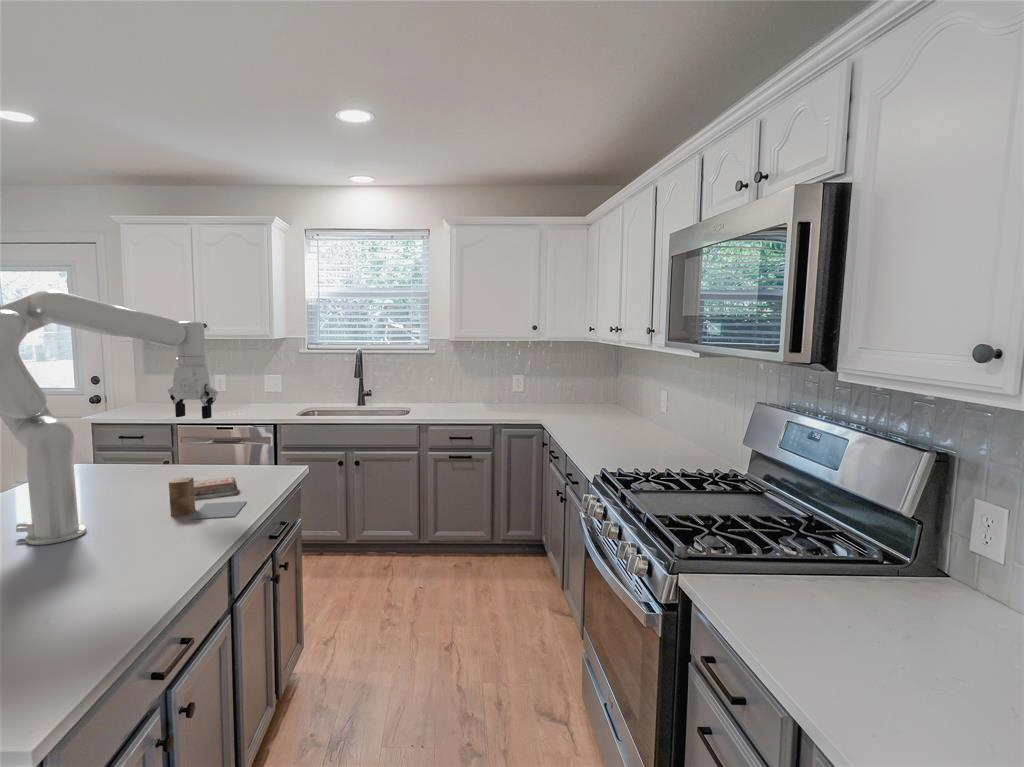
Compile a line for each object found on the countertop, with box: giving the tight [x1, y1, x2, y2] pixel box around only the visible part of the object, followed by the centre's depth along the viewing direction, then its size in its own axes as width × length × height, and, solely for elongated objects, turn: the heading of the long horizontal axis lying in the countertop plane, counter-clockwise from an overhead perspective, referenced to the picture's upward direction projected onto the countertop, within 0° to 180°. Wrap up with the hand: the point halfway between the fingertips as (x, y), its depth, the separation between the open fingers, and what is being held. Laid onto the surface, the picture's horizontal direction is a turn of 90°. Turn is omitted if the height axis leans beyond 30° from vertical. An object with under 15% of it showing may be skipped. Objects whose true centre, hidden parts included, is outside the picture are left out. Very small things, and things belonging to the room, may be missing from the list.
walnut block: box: [168, 476, 196, 517], centre depth 170 cm, size 5×5×10 cm
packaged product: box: [194, 476, 238, 500], centre depth 189 cm, size 18×5×10 cm
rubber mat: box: [189, 500, 248, 521], centre depth 172 cm, size 12×14×1 cm
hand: (193, 417), depth 176 cm, fingers open, 9 cm apart
